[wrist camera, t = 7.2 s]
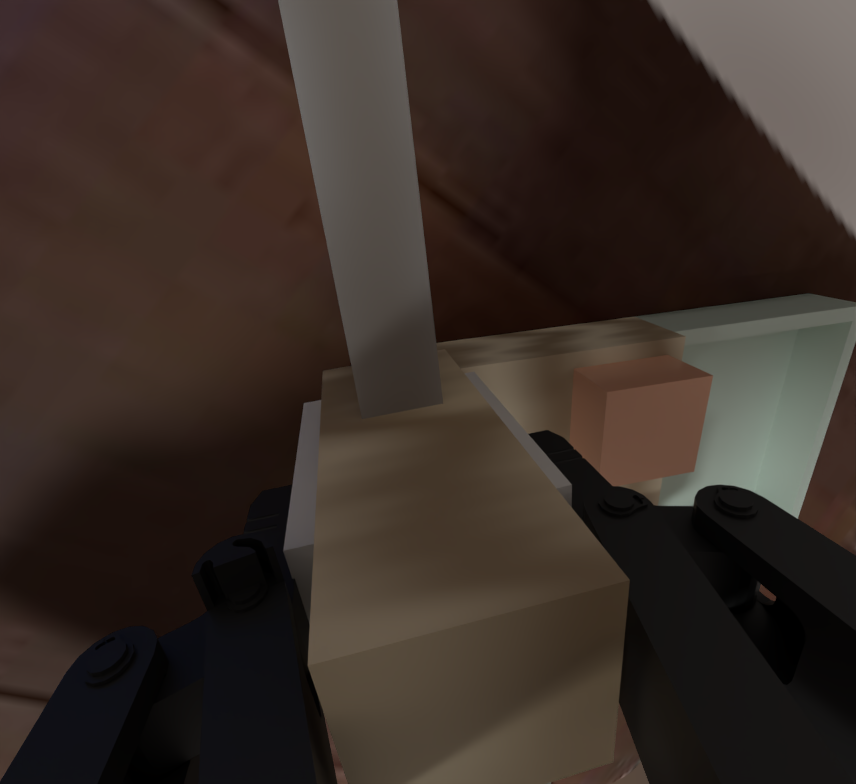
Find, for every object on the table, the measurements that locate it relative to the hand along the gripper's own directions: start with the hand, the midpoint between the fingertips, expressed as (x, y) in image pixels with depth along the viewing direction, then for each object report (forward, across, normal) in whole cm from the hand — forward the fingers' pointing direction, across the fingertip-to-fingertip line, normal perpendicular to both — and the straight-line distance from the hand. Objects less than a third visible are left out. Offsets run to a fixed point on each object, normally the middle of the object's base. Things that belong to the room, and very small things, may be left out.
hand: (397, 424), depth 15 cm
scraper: (+1, 0, 0) cm, 1 cm away
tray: (+14, -25, +13) cm, 31 cm away
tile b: (+9, -14, +6) cm, 18 cm away
